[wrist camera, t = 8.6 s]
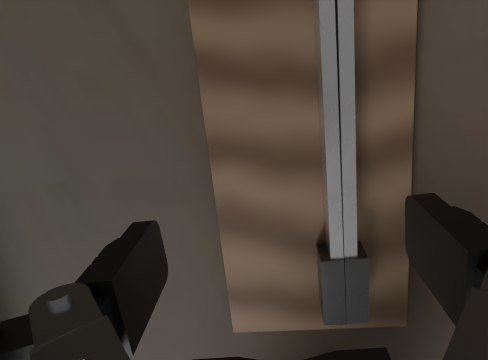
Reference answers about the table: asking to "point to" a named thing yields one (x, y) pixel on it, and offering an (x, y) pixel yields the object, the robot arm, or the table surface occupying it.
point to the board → (303, 153)
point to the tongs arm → (329, 168)
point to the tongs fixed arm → (350, 169)
